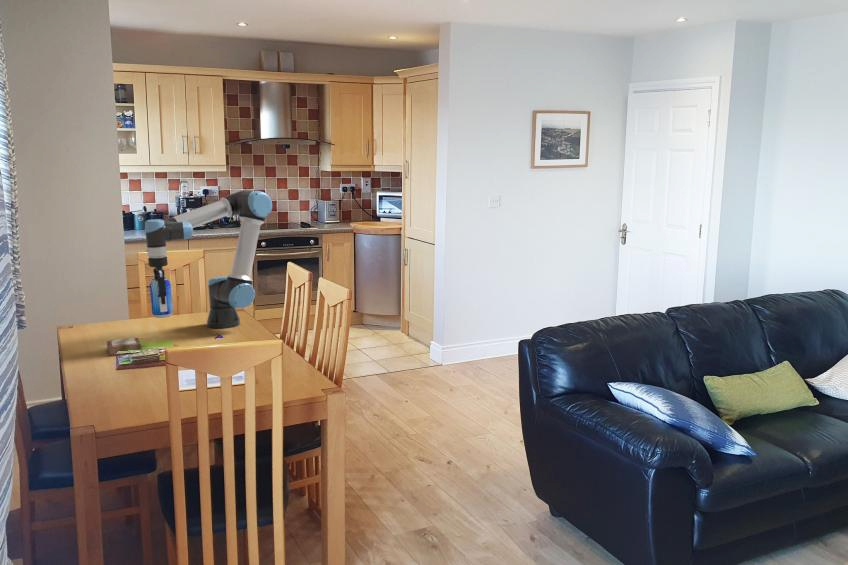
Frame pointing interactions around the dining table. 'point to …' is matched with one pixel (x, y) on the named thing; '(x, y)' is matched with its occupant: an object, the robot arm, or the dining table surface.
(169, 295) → the beer can
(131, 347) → the base slab
